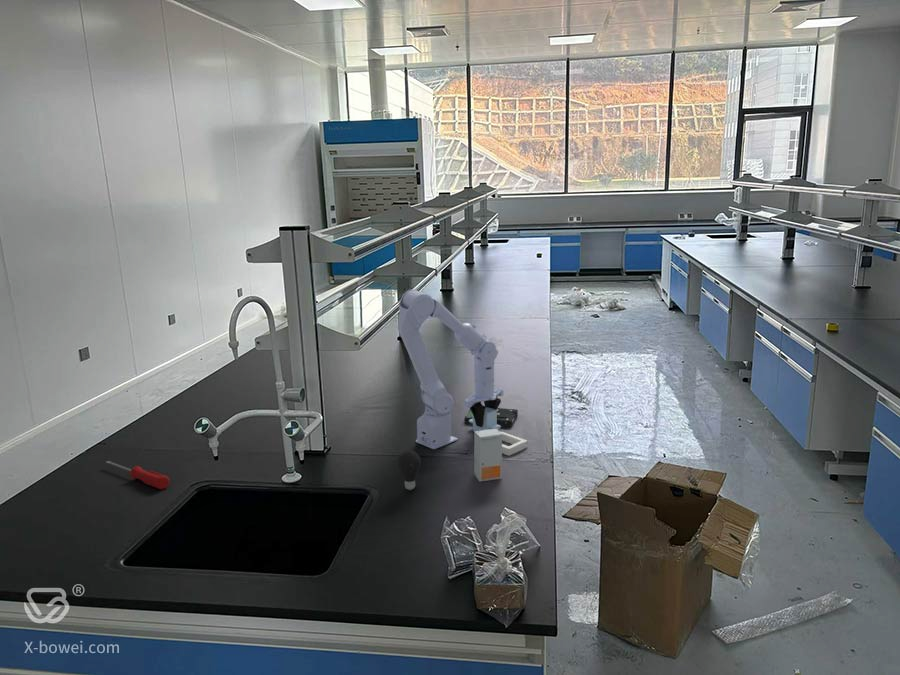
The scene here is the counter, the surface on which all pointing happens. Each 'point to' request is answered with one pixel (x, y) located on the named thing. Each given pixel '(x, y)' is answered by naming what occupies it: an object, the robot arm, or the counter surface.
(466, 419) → the disk drive
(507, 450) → the frame
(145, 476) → the screwdriver
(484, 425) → the block
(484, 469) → the skincare box
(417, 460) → the light bulb
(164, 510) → the counter surface
